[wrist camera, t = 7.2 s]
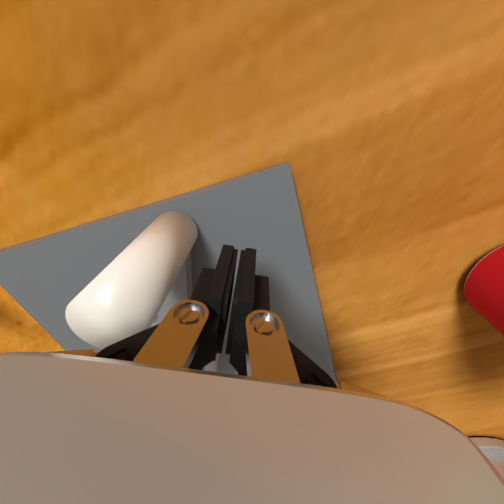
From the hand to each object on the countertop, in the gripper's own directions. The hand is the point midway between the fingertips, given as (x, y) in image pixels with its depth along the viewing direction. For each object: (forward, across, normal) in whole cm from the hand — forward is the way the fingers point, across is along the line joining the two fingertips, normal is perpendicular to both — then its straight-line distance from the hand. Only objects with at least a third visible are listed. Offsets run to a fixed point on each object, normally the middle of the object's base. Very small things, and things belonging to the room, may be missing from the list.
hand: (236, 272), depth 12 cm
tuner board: (+5, +4, +9) cm, 11 cm away
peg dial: (+4, +4, +9) cm, 11 cm away
